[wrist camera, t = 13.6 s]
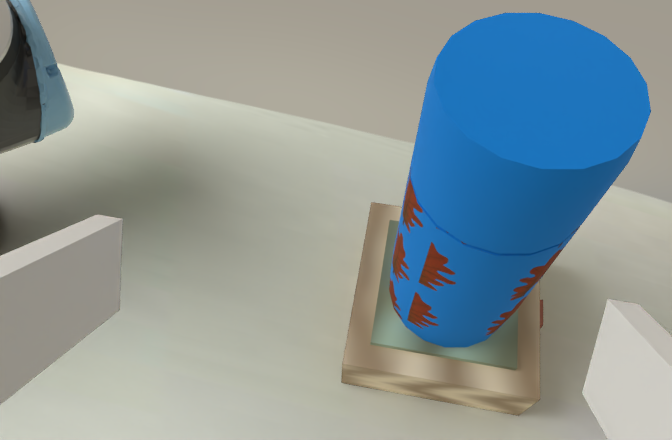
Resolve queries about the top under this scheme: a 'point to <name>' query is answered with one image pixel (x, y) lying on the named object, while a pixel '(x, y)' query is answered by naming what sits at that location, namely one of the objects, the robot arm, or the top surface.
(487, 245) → the thermos
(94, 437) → the top surface
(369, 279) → the wooden box
